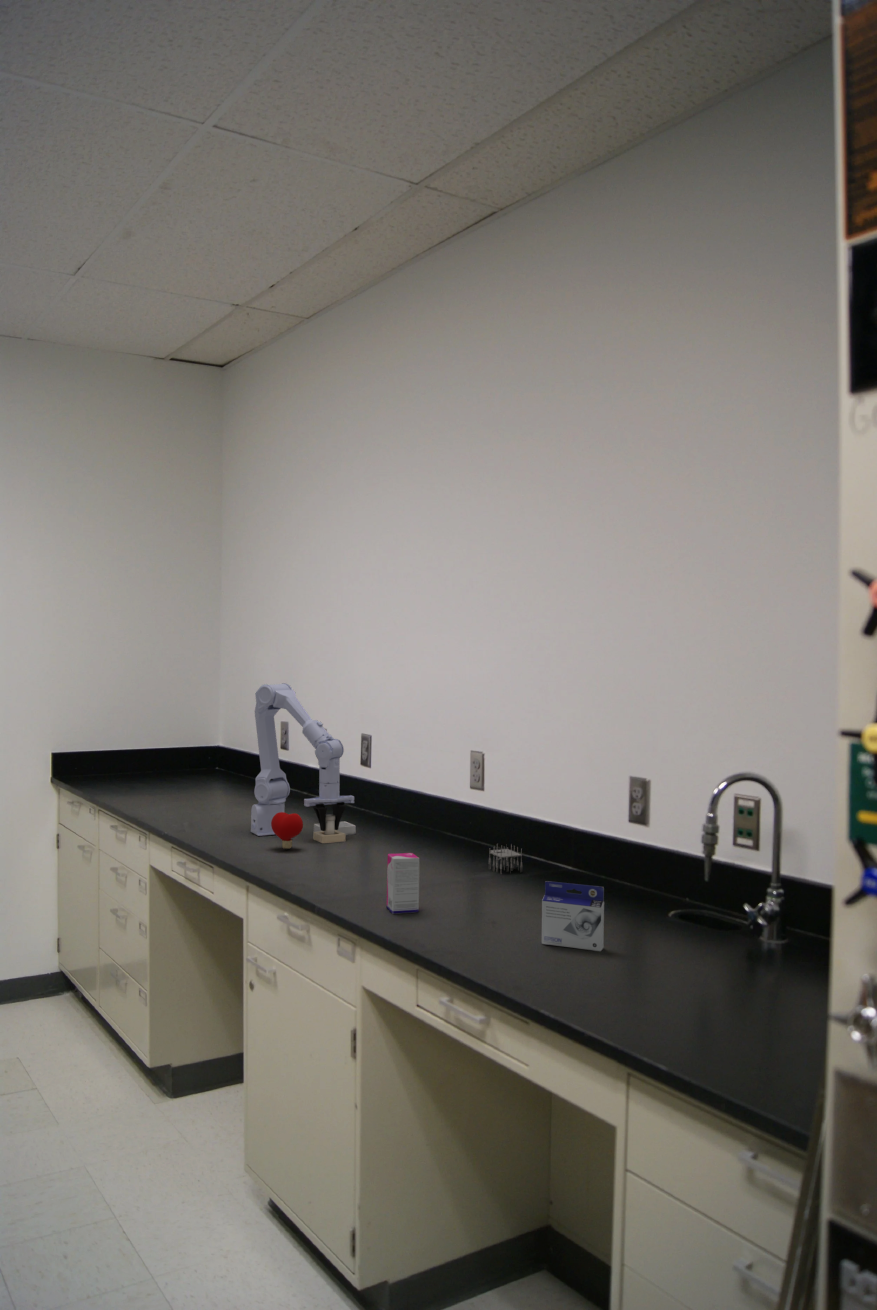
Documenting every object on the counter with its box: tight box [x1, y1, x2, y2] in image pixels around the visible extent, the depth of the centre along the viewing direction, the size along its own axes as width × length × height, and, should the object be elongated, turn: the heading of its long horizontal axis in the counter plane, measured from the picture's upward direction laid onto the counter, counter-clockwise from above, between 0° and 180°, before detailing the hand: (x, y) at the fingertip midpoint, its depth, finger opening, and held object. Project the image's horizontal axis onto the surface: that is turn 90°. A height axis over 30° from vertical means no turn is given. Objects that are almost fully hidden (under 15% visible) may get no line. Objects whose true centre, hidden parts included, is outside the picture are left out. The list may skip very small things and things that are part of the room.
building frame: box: [487, 843, 523, 875], centre depth 241 cm, size 6×8×6 cm
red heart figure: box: [271, 811, 304, 851], centre depth 263 cm, size 9×7×10 cm
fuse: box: [324, 814, 335, 835], centre depth 277 cm, size 3×3×7 cm
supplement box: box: [386, 852, 420, 915], centre depth 204 cm, size 6×6×12 cm
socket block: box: [312, 830, 346, 844], centre depth 277 cm, size 7×7×2 cm
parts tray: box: [313, 821, 357, 836], centre depth 286 cm, size 10×8×2 cm
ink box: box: [541, 880, 605, 952], centre depth 179 cm, size 12×2×12 cm, turn 69°
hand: (329, 829), depth 277 cm, fingers closed on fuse, 3 cm apart
